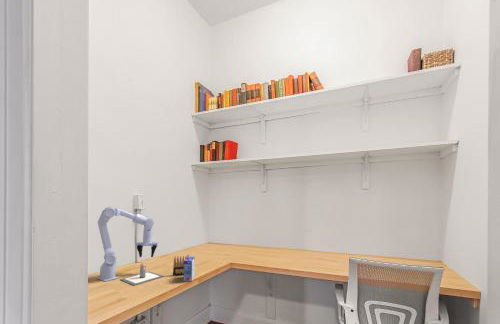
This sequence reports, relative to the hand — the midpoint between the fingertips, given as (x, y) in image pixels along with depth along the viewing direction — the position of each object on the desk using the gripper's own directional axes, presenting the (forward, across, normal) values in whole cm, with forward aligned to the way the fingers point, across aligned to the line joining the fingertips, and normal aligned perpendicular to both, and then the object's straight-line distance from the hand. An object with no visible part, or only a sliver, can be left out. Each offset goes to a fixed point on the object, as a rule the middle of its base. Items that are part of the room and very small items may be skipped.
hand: (146, 256), depth 166 cm
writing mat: (+10, +2, -10) cm, 15 cm away
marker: (+10, +2, -10) cm, 14 cm away
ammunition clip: (+11, +25, -4) cm, 27 cm away
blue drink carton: (+11, +31, -12) cm, 35 cm away
